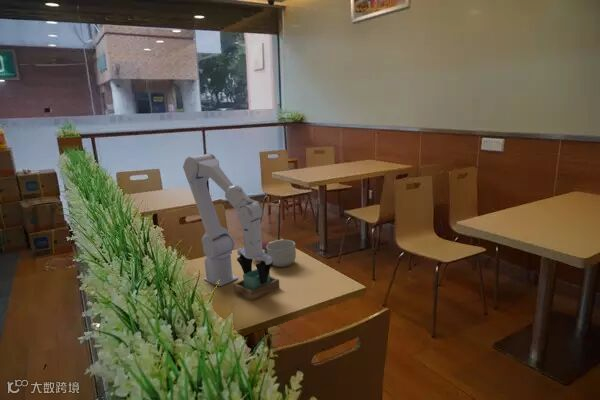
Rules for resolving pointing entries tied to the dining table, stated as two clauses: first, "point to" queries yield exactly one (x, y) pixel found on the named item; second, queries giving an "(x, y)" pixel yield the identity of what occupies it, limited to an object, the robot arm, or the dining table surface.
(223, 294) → the dining table surface
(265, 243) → the cupcake
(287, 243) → the teacup
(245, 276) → the teal crate
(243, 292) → the walnut crate
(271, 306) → the dining table surface
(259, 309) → the dining table surface
